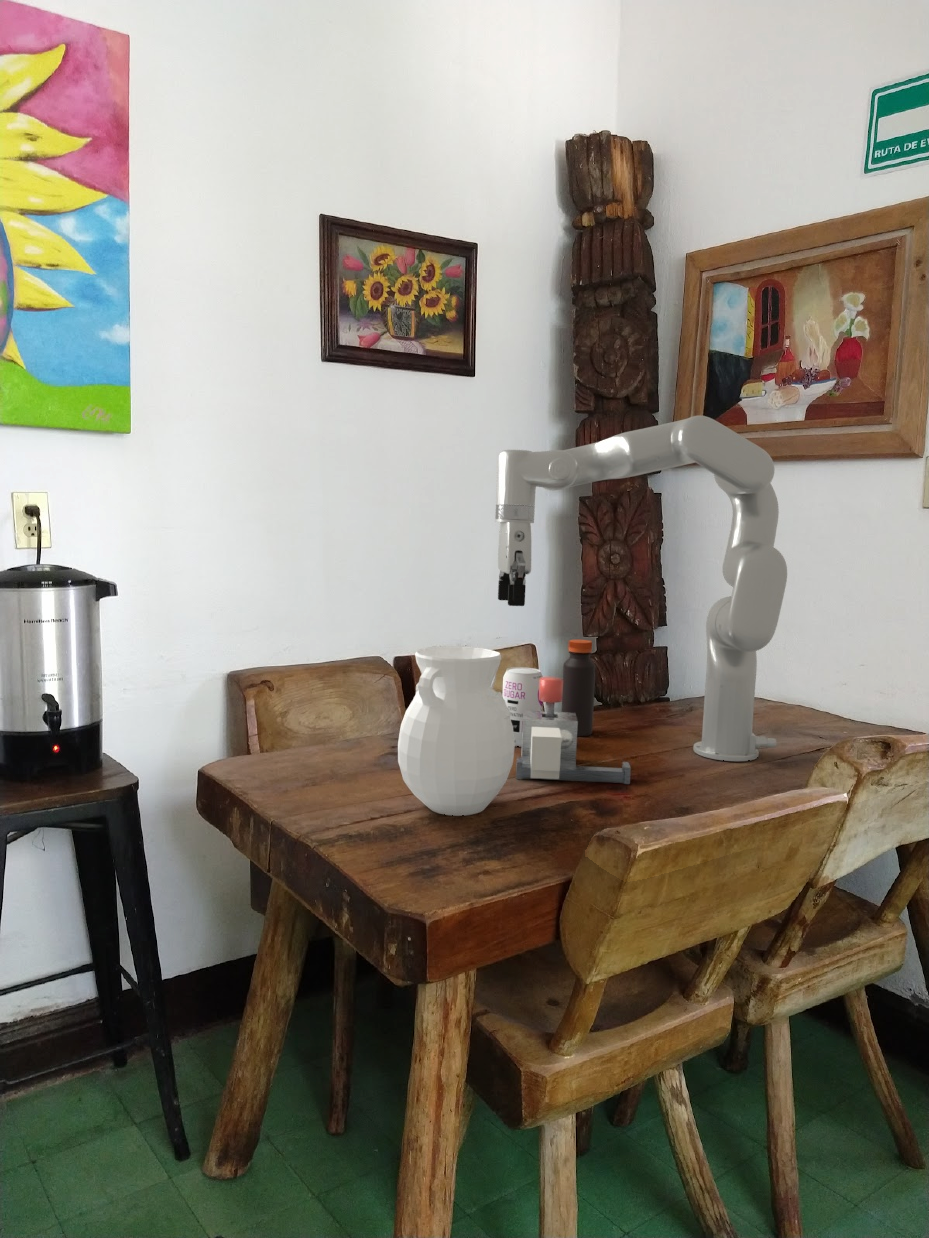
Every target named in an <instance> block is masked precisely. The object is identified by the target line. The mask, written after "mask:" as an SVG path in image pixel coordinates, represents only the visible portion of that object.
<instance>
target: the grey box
mask: <svg viewBox="0 0 929 1238" xmlns="http://www.w3.org/2000/svg"><path fill="white" fill-rule="evenodd" d="M545 716H546V710H545V711H543V710H542V711H523V723H522V747H521V749H520V750H521V751H520V752H521V754H520V755H521V756H520V757H522V761H523V764H530V756H531V731H532V727H548V728H559V729H560V734H561V755H560V765H563V766H577V764H576V763H577V748H578V747H577V745H578V744H577V743H578V736H577V726H578V721H577V717H576V714H575V713H568V712H561V711H554V718H548V717H545Z"/></svg>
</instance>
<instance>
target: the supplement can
mask: <svg viewBox="0 0 929 1238" xmlns="http://www.w3.org/2000/svg"><path fill="white" fill-rule="evenodd" d="M542 677H544V676H543V674H542V673H541V670H540V669H538V668H532V667H521V666H517V667H515V666H514V667H508V668H507V669H506V671H505V673H504V675H503V678H502V696H503V699H504V700H505V703H506V706H507V707H508V709H509V710H510V715H511V716H510V719H511V722H512V726H513V733H514V743H515V747H517V746H519V747H520V748H522V723H523V711H543V702H542V701H540V700H539V681H540V678H542ZM519 747H518V748H519Z"/></svg>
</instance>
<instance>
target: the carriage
mask: <svg viewBox="0 0 929 1238" xmlns="http://www.w3.org/2000/svg"><path fill="white" fill-rule="evenodd" d="M560 755H561V734H560V729H559V728H548V727H532V731H531V756H530V764H531V776H530V777H531V778H542V779H541V780H547V779H559V771H560Z"/></svg>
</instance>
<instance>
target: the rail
mask: <svg viewBox="0 0 929 1238" xmlns="http://www.w3.org/2000/svg"><path fill="white" fill-rule="evenodd" d="M621 765H622V766H621V767H606V766H605V767H604V766H603V767H602V766H585V765H584V766H583V765H579V766H578V765H576V766H563V765H560V771H559V779H546V781H547V780H551V781H553V780H554V781H571V782H572V781H574V782H575V781H577V782H594V783H612V784H613V783H615V784H616V783H617V784H618V783H619V784H623V785H631V770H632V767H631V765H630V763H629V762H628V761H622V764H621ZM515 766H516V767H515V768H516V769H515V771H516V772H515V779H516V780H523V779H529V780H531V779H533V780H543V779H542V778H531V777H530V776H531V764H523V761H522V757H521V756H520V757H519V756H516V765H515Z"/></svg>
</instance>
